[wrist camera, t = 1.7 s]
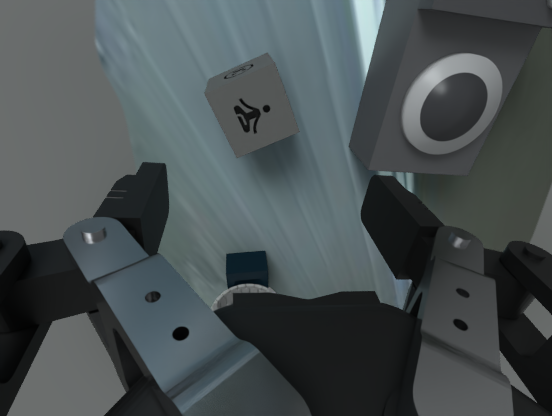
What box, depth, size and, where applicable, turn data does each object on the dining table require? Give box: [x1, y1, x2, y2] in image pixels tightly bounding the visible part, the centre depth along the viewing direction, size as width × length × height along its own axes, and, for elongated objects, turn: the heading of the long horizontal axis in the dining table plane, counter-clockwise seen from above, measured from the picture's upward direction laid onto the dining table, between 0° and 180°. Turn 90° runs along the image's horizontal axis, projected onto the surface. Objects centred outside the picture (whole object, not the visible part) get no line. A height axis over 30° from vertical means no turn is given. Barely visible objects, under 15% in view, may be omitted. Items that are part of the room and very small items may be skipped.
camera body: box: [349, 0, 552, 176], centre depth 23 cm, size 14×9×7 cm, turn 173°
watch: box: [211, 251, 277, 311], centre depth 32 cm, size 6×8×11 cm
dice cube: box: [205, 53, 299, 158], centre depth 24 cm, size 5×5×5 cm
